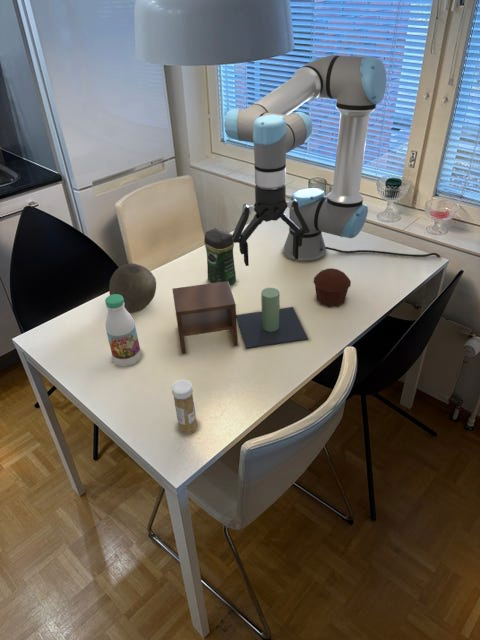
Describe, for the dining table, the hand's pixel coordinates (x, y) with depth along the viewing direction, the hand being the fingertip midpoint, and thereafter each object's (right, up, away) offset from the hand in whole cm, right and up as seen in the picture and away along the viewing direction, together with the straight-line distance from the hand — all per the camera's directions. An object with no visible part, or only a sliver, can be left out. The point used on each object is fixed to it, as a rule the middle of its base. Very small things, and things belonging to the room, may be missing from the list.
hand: (271, 260), depth 133 cm
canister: (+1, -18, +13) cm, 22 cm away
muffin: (+20, -10, +24) cm, 33 cm away
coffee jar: (-14, -3, +35) cm, 38 cm away
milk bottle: (-40, -27, +5) cm, 48 cm away
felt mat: (+1, -18, +13) cm, 23 cm away
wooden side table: (-18, -21, +11) cm, 30 cm away
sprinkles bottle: (-21, -42, -17) cm, 49 cm away
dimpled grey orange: (-41, -13, +24) cm, 49 cm away
